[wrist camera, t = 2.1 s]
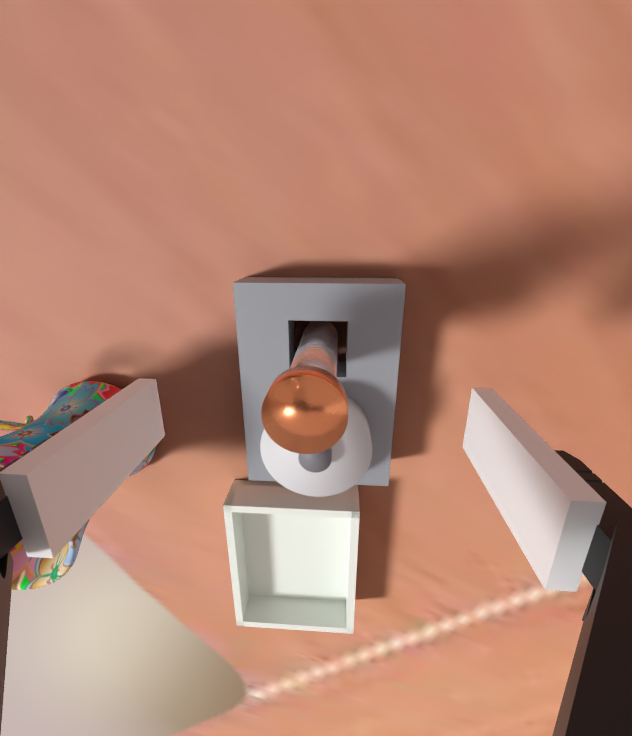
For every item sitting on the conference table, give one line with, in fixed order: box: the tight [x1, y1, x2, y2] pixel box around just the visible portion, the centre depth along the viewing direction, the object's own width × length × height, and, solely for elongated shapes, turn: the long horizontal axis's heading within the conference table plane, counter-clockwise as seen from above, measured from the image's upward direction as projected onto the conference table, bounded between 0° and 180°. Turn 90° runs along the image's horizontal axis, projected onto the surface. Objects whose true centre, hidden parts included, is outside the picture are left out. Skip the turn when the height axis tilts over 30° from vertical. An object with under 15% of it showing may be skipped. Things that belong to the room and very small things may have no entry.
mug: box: [0, 381, 156, 590], centre depth 23 cm, size 12×9×11 cm
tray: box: [223, 480, 360, 634], centre depth 30 cm, size 13×10×3 cm
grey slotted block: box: [233, 277, 406, 497], centre depth 23 cm, size 14×10×6 cm
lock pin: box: [261, 321, 348, 454], centre depth 19 cm, size 3×3×12 cm
